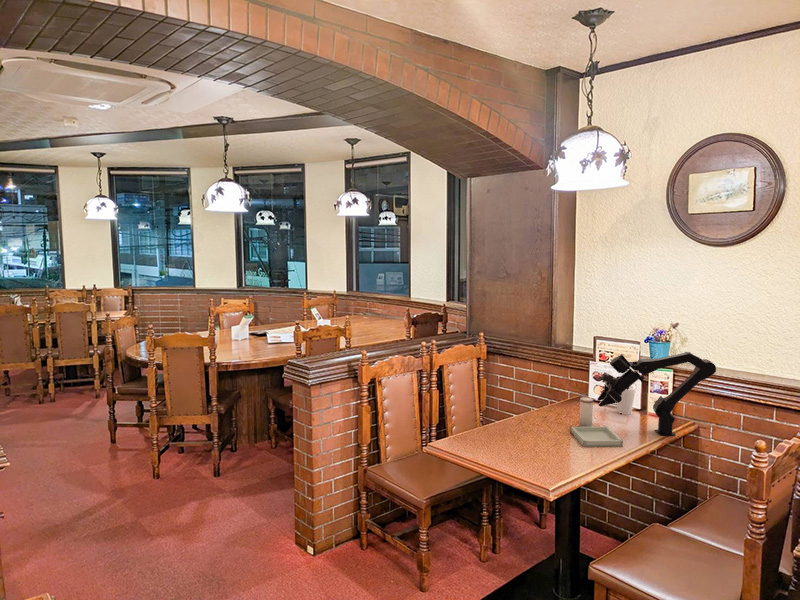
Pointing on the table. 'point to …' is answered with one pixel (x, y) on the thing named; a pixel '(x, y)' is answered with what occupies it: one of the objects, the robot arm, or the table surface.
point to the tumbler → (586, 412)
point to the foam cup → (626, 401)
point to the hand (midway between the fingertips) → (598, 402)
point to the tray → (596, 437)
